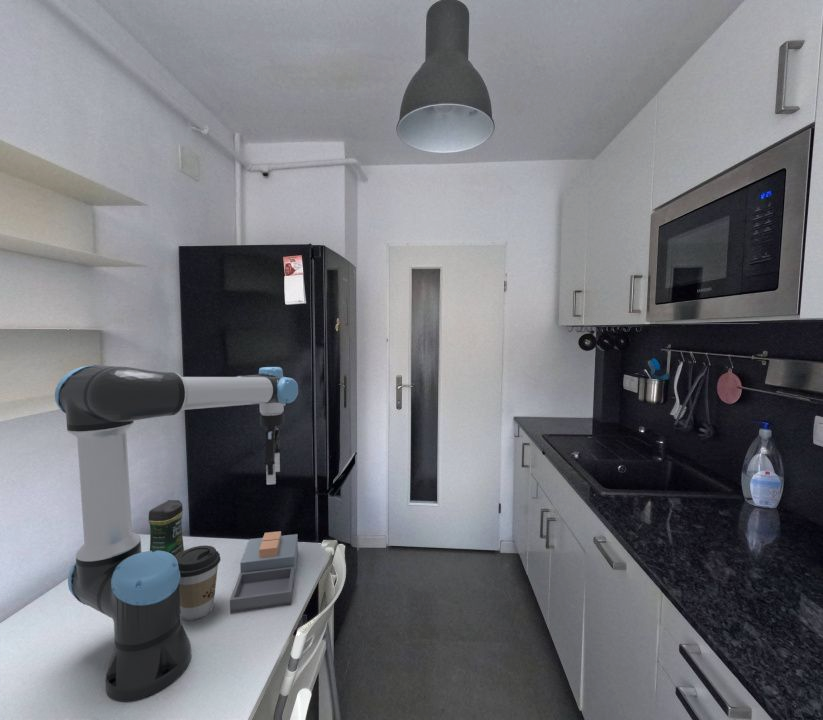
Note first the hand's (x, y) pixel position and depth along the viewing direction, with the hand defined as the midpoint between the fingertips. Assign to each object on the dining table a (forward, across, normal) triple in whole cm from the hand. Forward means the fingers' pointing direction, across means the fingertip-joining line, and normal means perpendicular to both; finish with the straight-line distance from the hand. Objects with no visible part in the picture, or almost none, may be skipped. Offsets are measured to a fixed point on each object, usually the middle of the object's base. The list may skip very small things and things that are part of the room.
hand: (273, 477), depth 132 cm
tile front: (+18, -14, 0) cm, 23 cm away
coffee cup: (+24, -28, +16) cm, 40 cm away
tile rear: (+18, -9, 0) cm, 20 cm away
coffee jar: (+25, 0, +33) cm, 41 cm away
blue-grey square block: (+24, -11, 0) cm, 27 cm away
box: (+24, -25, 0) cm, 35 cm away
